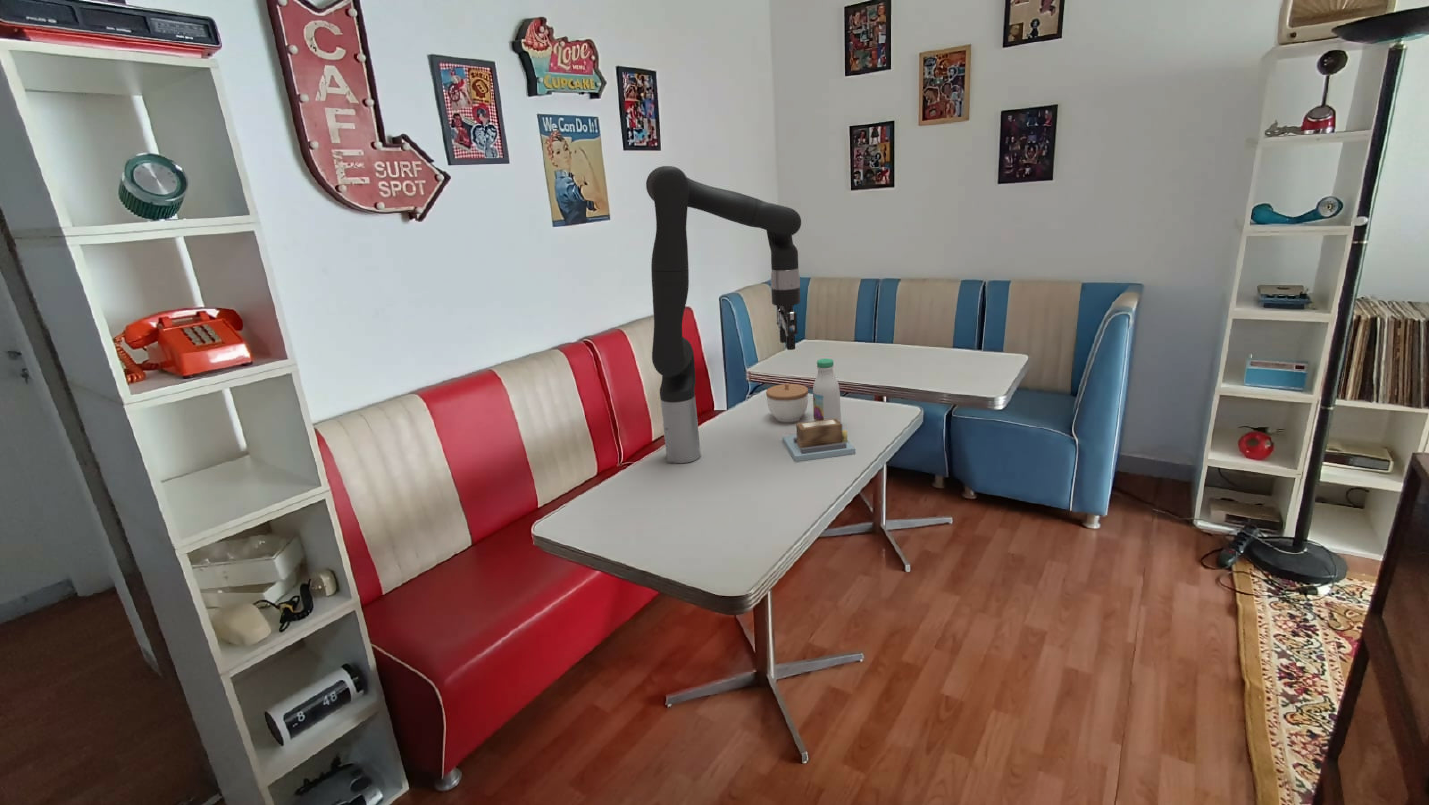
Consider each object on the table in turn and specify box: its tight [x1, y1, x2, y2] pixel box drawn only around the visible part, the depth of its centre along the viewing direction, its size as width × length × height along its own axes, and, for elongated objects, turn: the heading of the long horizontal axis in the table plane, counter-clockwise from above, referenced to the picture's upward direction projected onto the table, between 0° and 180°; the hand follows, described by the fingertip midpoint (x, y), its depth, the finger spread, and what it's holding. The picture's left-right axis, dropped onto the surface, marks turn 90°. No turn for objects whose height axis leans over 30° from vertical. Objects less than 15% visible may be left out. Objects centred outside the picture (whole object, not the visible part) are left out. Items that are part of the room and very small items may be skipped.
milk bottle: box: [812, 358, 842, 424], centre depth 199 cm, size 8×8×20 cm
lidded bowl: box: [765, 382, 809, 423], centre depth 210 cm, size 13×13×11 cm
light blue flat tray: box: [781, 429, 856, 463], centre depth 187 cm, size 16×15×4 cm
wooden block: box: [795, 418, 843, 449], centre depth 185 cm, size 11×5×6 cm, turn 98°
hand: (787, 345), depth 188 cm, fingers open, 8 cm apart
